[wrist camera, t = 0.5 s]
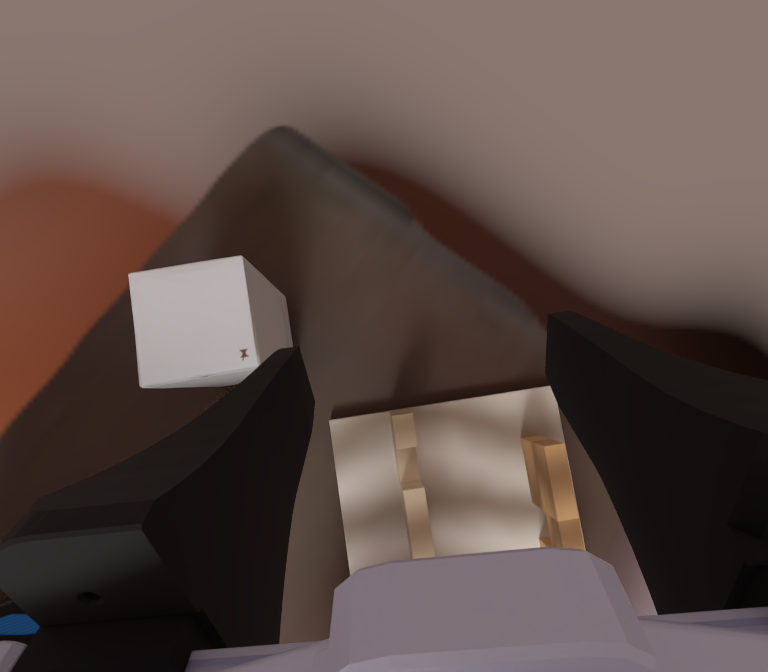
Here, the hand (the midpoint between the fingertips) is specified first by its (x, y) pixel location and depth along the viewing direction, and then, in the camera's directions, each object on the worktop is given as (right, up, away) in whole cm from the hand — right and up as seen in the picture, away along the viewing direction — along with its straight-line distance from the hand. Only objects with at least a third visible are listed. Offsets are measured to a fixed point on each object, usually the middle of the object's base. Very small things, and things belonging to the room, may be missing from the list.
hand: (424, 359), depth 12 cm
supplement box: (-13, 0, +26) cm, 29 cm away
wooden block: (+12, -15, +24) cm, 31 cm away
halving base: (+5, -14, +25) cm, 29 cm away
